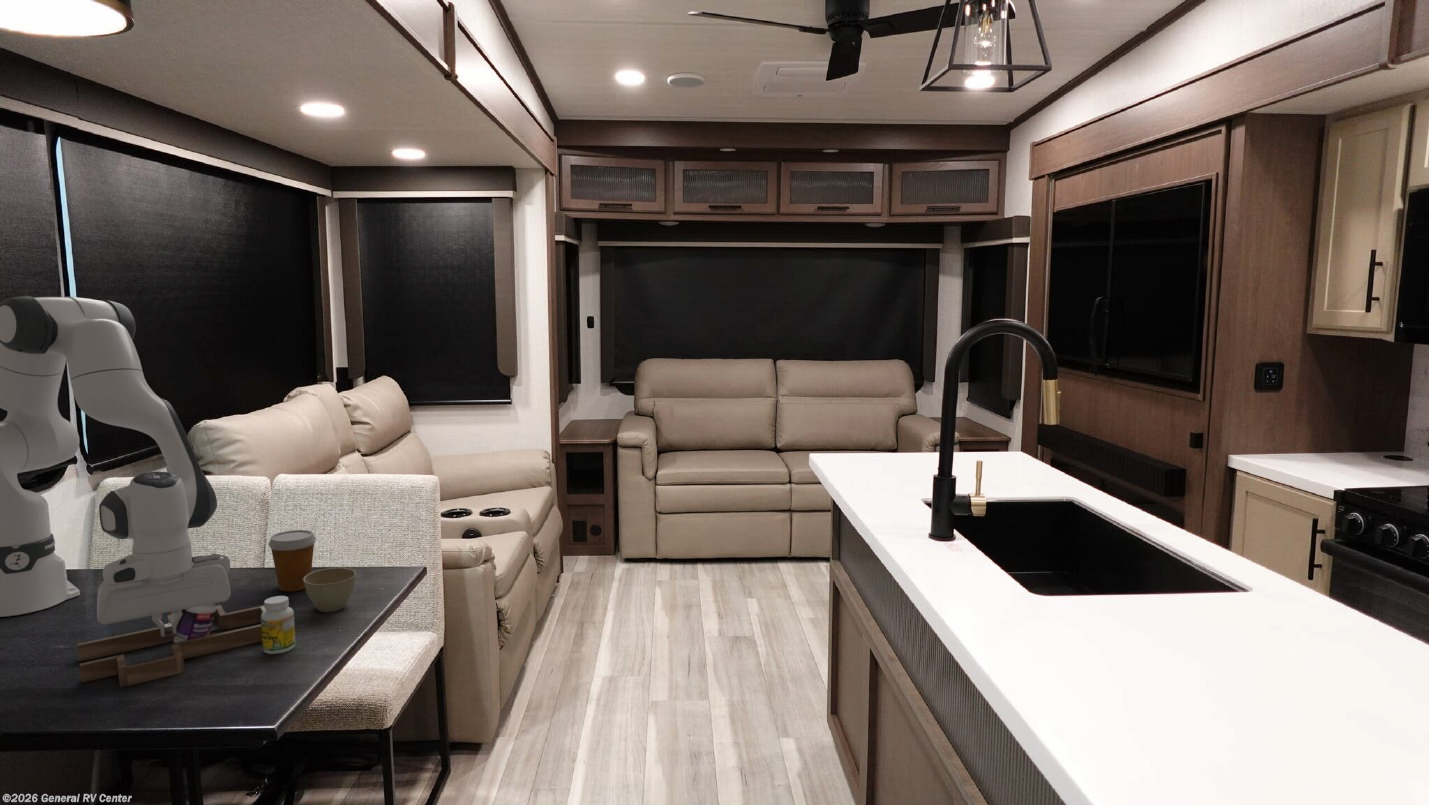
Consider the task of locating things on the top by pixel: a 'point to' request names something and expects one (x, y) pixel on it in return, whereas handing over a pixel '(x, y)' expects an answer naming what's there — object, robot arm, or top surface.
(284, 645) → the supplement bottle
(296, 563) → the disposable coffee cup
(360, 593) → the top surface
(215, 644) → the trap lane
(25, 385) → the robot arm
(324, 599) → the flower pot
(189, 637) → the pill bottle
